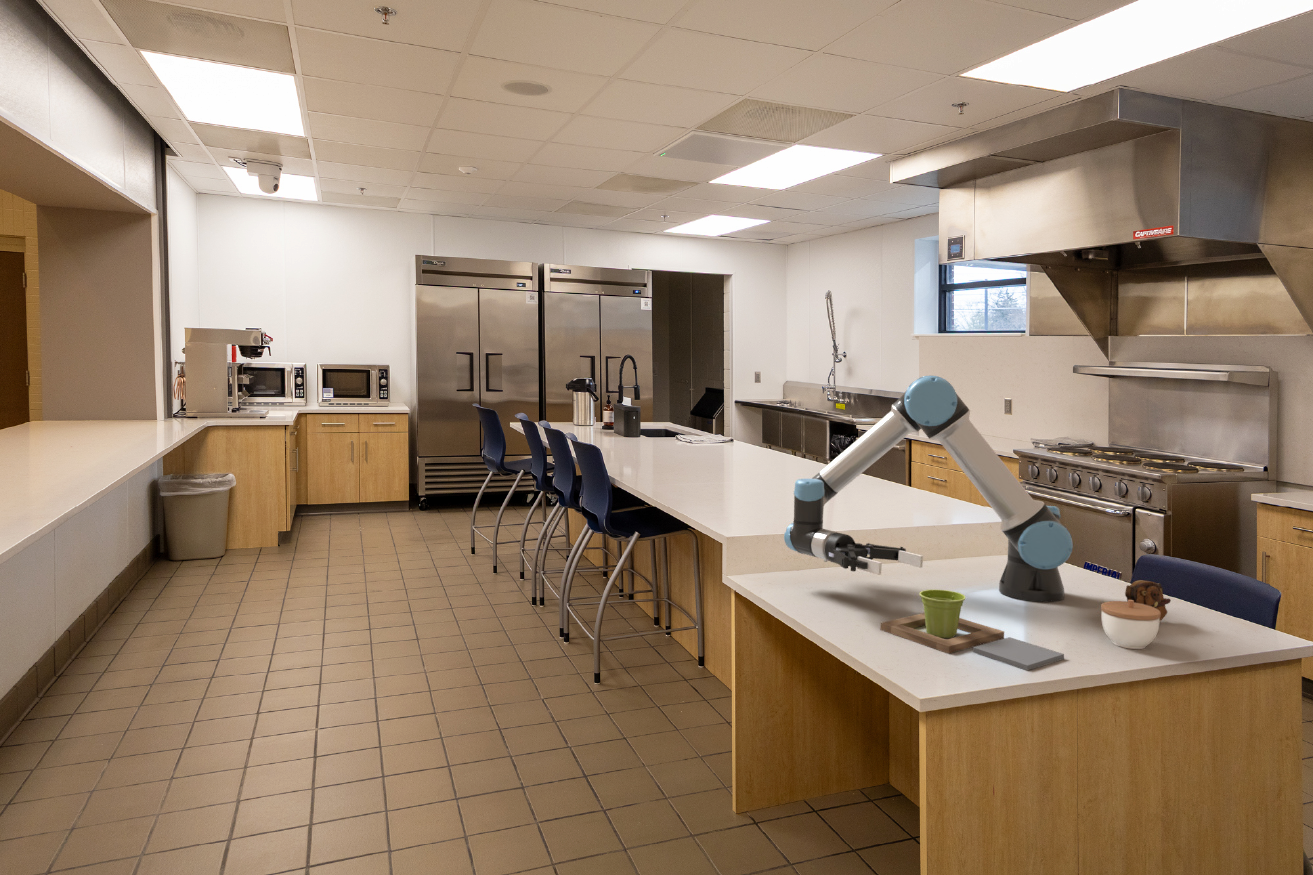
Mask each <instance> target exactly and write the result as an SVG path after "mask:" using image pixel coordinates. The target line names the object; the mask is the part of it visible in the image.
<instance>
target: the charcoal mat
mask: <svg viewBox="0 0 1313 875" xmlns="http://www.w3.org/2000/svg"><path fill="white" fill-rule="evenodd" d="M972 653H974V654H978V655H981V656H984V657H985V658H989V659H992V660H995V661H997V662H1001V663H1005V664H1007V665H1010V666H1012V667H1016V668H1019V669H1022V670H1025V671H1031V670H1033V669H1036V668H1039V667H1040V668H1041V667H1042V666H1045V665H1046V666H1047V665H1049V664H1052V663H1056V662H1058V661H1059V662H1060V661H1061V660H1064V659H1065V654H1064V653H1062V652H1058V651H1056V650H1053V649H1050V648H1046V647H1042V646H1039V645H1036V644H1032V643H1029V642H1026V641H1023V640H1020V639H1016V638H1013V637H1011V636H1010V637H1006V638H1005V637H1004V639H1000V640H996V641H993V642H989V643H985V644H982V645H978V646H975V647H972Z"/></svg>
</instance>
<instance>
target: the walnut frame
mask: <svg viewBox="0 0 1313 875" xmlns="http://www.w3.org/2000/svg"><path fill="white" fill-rule="evenodd" d="M879 626H880V627H879V629H880V631H883V632H885V633H886V632H887V633H889V634H892V635H894V636H896V637H901V638H903V639H904V640H905V639H906V640H909V641H912V642H915V643H917V644H920V645H923V646H925V647H929V648H932V649H934V650H937V651H940V652H943V653H946V654H948V655H949V654H952V653H956V652H959V651H963V650H967V649H970V648H973V647H976V646H980V645H983V644H987V643H991V642H994V641H998V640H1001V639H1005V631H1004V630H1000V629H997V628H994V627H991V626H987V625H984V624H981V623H979V622H978V623H977V622H975V621H971V620H967V619H965V618H961V617H959V622H958V628H957V630H961V631H963V632H966V633H967V634H963V635H962V634H961V635H959V636H956V637H955V636H954V637H952V638H940V637H938V636H936V635H931V634H928V633H927V632H924V631H922V630H919V629H916V628H917V627H918V628H919V627H923V626H926V622H925V614H924V612H922V613H918V614H914V615H909V616H906V617H901V618H896V619H892V620H887V621H884V622H880V624H879Z"/></svg>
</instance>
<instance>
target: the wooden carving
mask: <svg viewBox="0 0 1313 875" xmlns="http://www.w3.org/2000/svg"><path fill="white" fill-rule="evenodd" d="M1124 596H1125V598H1126V602H1128V600H1134V603H1140V604H1144V605H1148V606H1151V607H1154V608H1156V609H1158V610H1159V611H1160V612H1161V616H1160V621H1159V623H1160V622H1161V621H1162V620H1163V619H1164V618H1165V617H1166V616H1167V614H1168V610H1167V608H1166V605H1169V604H1170V603H1171V599H1170V598H1166V597H1164V589H1163V586H1162V584H1161V583H1160V582H1158V583H1157V582H1154V581H1149V580H1142V579H1139V580H1135V581H1133V582H1132V583H1131V584H1130V585H1126V588H1125V590H1124Z"/></svg>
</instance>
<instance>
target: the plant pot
mask: <svg viewBox="0 0 1313 875" xmlns="http://www.w3.org/2000/svg"><path fill="white" fill-rule="evenodd" d="M919 597H921V602H922V605H923V613H924V614H925V622H926V625H925V629H926V633H928V634H931V635H934V636H937V637H940V638H943V639H951V638H955V636H956V637H957V634H958V633H957V632H958V629H957V628H958V622H959V618H961V617H960V616H961V611H962V607H963V604H964V601H965V600H967V599H966V595H965V594H963V593H961V592H958V591H955V590H947V589H925V590H922V591H920V592H919Z"/></svg>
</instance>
